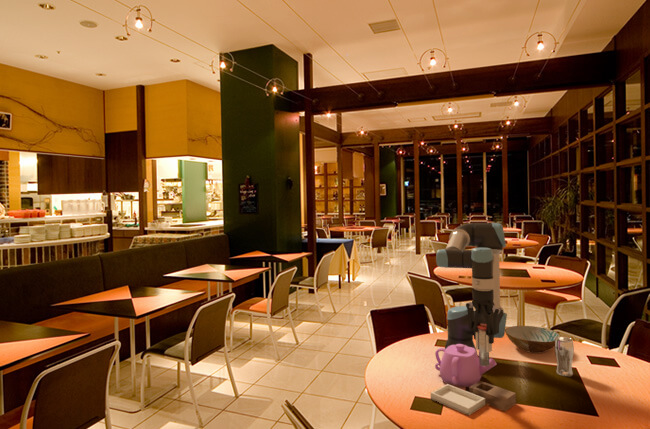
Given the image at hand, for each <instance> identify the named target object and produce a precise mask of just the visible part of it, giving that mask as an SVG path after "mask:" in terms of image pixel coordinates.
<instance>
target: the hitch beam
mask: <svg viewBox="0 0 650 429" xmlns="http://www.w3.org/2000/svg"><path fill="white" fill-rule="evenodd" d="M468 389H469V391H468V392H470V393H473V394H475V395H478V396H480V397H483V398H485V405H488V406H490V407H493V408H496V409H498V410H501V411H503V412H507V411H508V410H509V409H510V408H512V407H514V406H515V405H517V393H516V392H514V391H511V390H508V389H506V388H502V387H500V386H497V385H494V384H491V383H488V382H485V381H482V380H479V382H477V383H476V384H474V385H472V386H470V387H468Z"/></svg>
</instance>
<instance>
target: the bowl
mask: <svg viewBox="0 0 650 429" xmlns="http://www.w3.org/2000/svg"><path fill="white" fill-rule="evenodd" d="M505 334H506V336H507V338H508V339H509V340H510V342H511V343H513V345H515V346H516V347H518V348H520V349H521V350H522V351H524V352H529V353H531V354H533V353H534V354H543V353H545V352H548V351H550V350H552V349H553V348H555V337H558V336H562V335H561V334H560V333H559V332H557V331H555V330H552V329H549V328H545V327H541V326H534V325H533V326H532V325H513V326H509V327H505Z"/></svg>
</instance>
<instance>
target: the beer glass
mask: <svg viewBox="0 0 650 429" xmlns="http://www.w3.org/2000/svg"><path fill="white" fill-rule="evenodd" d="M574 349H575V348H574V339H573V338H571V337H567V336H562V335H561V336H558V337H555V347H554V353H555V354H554V355H555V358H556V374H557V375H560V376H561V377H562V376H563V377H572V376H573V375H574V373H573V368H572V367H573V366H572V364H573V360H574V352H575V351H574Z"/></svg>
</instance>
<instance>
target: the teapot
mask: <svg viewBox="0 0 650 429" xmlns="http://www.w3.org/2000/svg"><path fill="white" fill-rule="evenodd" d="M476 351H477V349H476V350H475V349H474V348H472V347H468V346H466V345H463V344H456V345H450V346H448V347H447V348H446V349H445V347H439V348H437V349H436V350H435V353H434V354H435V359H436V361H437V362H436V364H435V366H434V368H435V370H437V371H438V372H439V376H440V379H441V381H443V383H445V382H446V383H445V384H448V383H449V385H452V384H453V385H452V386H457V385H458V386H459V387H462V388H469V387H470V386H472V385H474V384H476V383H477V382H479V381H481V378H482V376H483V374H485V373H486V372H487V371H488V372H489V370H491V369H492V368H494V367H495V366H496V365H497V362H496V361H495V359H493V358H491V357H490V358H489V366H481V365H479V354H478V351H477V352H476ZM439 352H443V355H442V357H441V358H440V355H439Z"/></svg>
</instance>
